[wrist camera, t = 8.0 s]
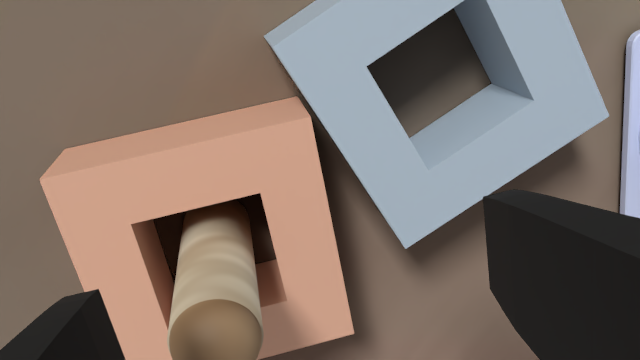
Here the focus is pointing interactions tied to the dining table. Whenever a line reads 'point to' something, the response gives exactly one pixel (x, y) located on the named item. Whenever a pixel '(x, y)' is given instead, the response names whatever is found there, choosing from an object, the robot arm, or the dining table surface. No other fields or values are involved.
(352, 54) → the pale blue square ring
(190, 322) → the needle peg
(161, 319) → the pink square ring
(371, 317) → the dining table surface
